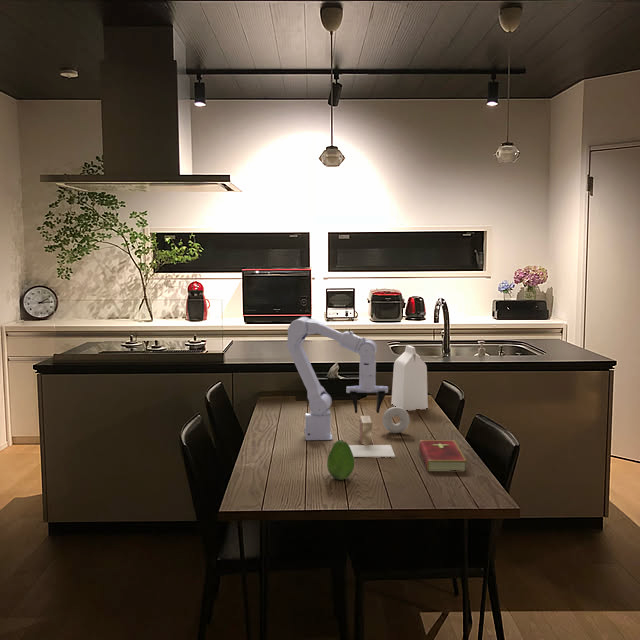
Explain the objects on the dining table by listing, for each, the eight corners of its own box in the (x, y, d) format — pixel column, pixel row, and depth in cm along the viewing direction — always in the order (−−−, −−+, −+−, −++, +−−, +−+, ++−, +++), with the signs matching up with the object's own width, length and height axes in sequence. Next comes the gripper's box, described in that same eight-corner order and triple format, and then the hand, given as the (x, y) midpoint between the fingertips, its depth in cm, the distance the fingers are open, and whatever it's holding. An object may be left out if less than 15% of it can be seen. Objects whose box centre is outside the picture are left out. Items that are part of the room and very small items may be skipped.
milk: (391, 404, 293) (392, 344, 289) (415, 402, 296) (416, 343, 293) (402, 410, 281) (403, 349, 278) (427, 408, 285) (429, 348, 281)
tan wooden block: (361, 445, 236) (361, 422, 235) (359, 437, 244) (359, 415, 243) (371, 444, 236) (371, 422, 235) (369, 437, 245) (369, 415, 244)
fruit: (338, 472, 208) (338, 434, 207) (359, 478, 203) (359, 439, 202) (321, 479, 202) (322, 440, 200) (343, 485, 197) (343, 445, 196)
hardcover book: (427, 472, 209) (427, 459, 209) (419, 451, 230) (419, 439, 230) (466, 473, 209) (466, 459, 208) (454, 451, 230) (454, 439, 229)
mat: (346, 457, 221) (346, 456, 221) (344, 446, 233) (344, 445, 233) (395, 457, 222) (395, 456, 222) (390, 446, 234) (390, 444, 234)
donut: (382, 434, 248) (383, 407, 247) (381, 431, 251) (382, 405, 250) (410, 434, 248) (410, 407, 247) (408, 431, 252) (409, 405, 250)
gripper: (347, 377, 233) (347, 415, 235) (389, 376, 234) (388, 415, 235) (346, 372, 240) (345, 410, 242) (386, 372, 241) (386, 410, 242)
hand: (366, 412), depth 239 cm, fingers open, 7 cm apart
